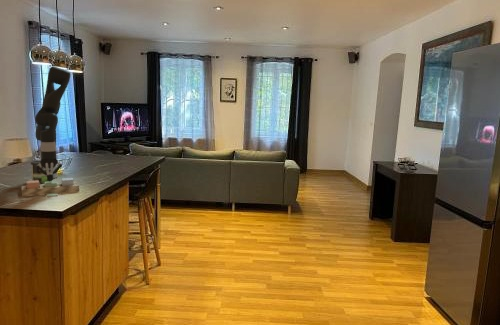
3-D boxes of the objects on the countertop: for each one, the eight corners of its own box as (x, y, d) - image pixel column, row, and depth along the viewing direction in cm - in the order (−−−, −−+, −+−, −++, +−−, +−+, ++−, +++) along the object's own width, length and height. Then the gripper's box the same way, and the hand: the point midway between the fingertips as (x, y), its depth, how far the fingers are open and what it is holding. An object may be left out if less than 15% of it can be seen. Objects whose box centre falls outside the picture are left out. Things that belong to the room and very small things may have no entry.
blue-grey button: (62, 187, 203) (62, 180, 202) (61, 185, 207) (61, 178, 207) (73, 186, 205) (73, 179, 205) (72, 184, 210) (72, 177, 209)
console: (22, 196, 191) (21, 190, 190) (22, 192, 200) (21, 185, 199) (79, 191, 205) (79, 185, 204) (76, 187, 214) (76, 181, 213)
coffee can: (55, 185, 218) (54, 161, 216) (38, 188, 210) (36, 163, 207) (46, 182, 224) (44, 159, 221) (28, 185, 215) (26, 161, 213)
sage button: (45, 191, 198) (45, 183, 198) (44, 188, 203) (44, 181, 202) (57, 190, 201) (56, 183, 201) (56, 187, 206) (55, 181, 205)
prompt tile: (47, 197, 192) (47, 195, 192) (46, 194, 196) (46, 193, 196) (57, 196, 194) (57, 194, 194) (57, 193, 199) (57, 192, 199)
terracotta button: (27, 190, 194) (26, 183, 193) (27, 188, 199) (26, 181, 198) (39, 189, 197) (38, 182, 196) (38, 187, 201) (38, 180, 201)
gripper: (61, 148, 205) (63, 178, 208) (34, 149, 198) (36, 180, 201) (62, 150, 199) (64, 181, 202) (34, 151, 192) (36, 183, 195)
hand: (50, 181), depth 201 cm, fingers closed
